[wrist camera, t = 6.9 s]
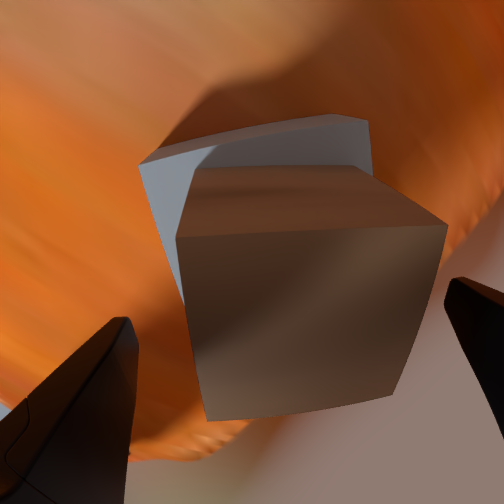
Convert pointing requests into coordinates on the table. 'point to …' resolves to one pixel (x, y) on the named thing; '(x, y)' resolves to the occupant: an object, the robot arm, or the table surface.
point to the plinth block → (247, 161)
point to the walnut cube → (301, 286)
